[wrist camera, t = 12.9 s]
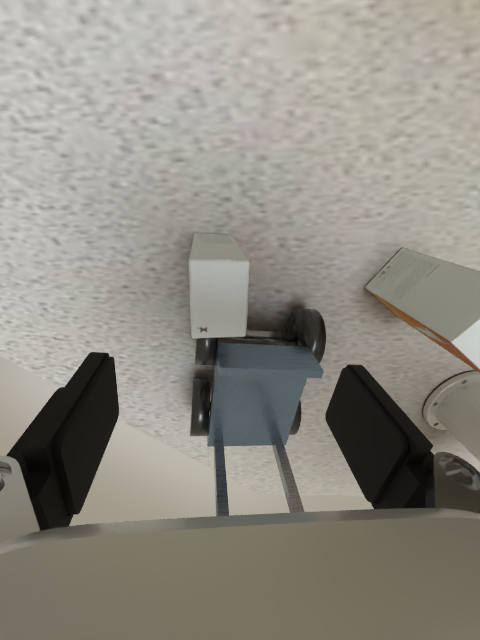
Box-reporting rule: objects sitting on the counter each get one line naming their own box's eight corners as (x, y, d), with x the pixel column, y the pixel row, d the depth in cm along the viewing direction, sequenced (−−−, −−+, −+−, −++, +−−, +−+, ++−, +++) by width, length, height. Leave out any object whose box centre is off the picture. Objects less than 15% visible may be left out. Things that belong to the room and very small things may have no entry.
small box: (362, 287, 32) (449, 342, 21) (402, 245, 31) (521, 281, 19) (398, 319, 35) (492, 382, 24) (437, 283, 33) (559, 333, 22)
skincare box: (231, 286, 30) (246, 339, 20) (194, 286, 30) (189, 341, 19) (233, 232, 27) (252, 260, 17) (192, 230, 27) (185, 259, 16)
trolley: (307, 300, 32) (455, 459, 13) (279, 406, 40) (346, 601, 21) (199, 291, 30) (192, 468, 11) (191, 406, 38) (179, 624, 19)
